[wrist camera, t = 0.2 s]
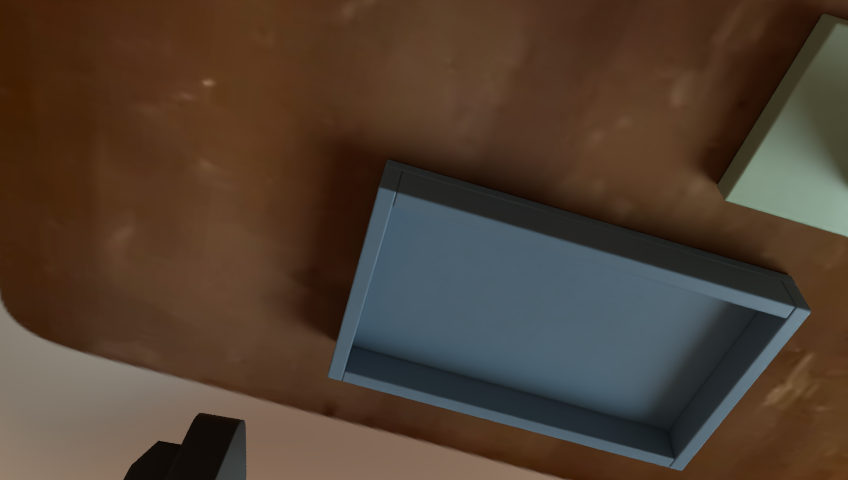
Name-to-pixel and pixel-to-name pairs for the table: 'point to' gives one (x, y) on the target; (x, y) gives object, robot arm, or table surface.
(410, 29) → the table surface
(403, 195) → the tray
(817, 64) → the stand
